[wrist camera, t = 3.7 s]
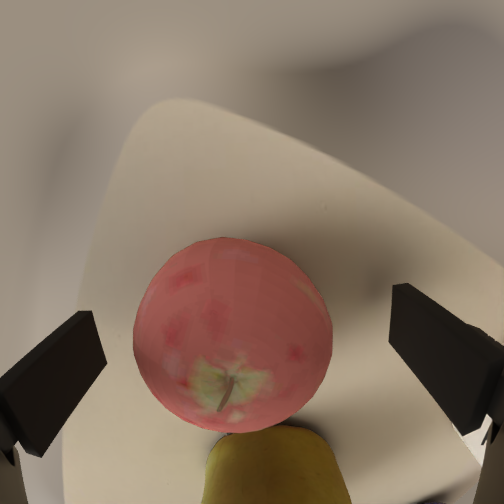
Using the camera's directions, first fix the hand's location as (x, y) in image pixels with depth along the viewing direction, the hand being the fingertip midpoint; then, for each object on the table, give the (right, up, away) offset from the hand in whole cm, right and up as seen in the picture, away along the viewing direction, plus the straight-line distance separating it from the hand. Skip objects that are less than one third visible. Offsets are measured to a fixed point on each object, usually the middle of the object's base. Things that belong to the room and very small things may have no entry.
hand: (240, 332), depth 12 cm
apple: (0, +1, +3) cm, 4 cm away
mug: (+1, -13, +6) cm, 14 cm away
